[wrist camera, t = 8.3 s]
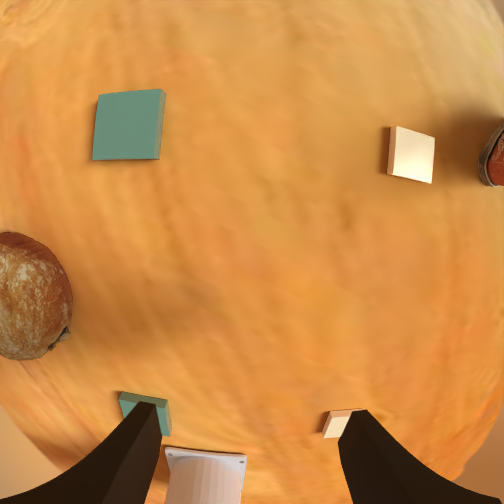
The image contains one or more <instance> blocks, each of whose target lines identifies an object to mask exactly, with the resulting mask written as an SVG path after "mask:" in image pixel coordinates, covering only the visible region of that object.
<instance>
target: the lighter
mask: <svg viewBox="0 0 504 504" xmlns="http://www.w3.org/2000/svg"><path fill="white" fill-rule="evenodd" d="M478 169H479V174H480V177H481V179H482V181H483V183H485V184H486V185H488V186H493V187H498V186H500V185H501V186H504V122H503V123H502V124H501V125H500V126H499V127H498V128H497V129H496V130H495V131H494V133H493V134H492V136H491V137H490V139H489V141H488V142H487V144H486V146H485V148H484V150H483V152H482V154H481V156H480V158H479V162H478Z"/></svg>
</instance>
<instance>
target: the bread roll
mask: <svg viewBox="0 0 504 504" xmlns="http://www.w3.org/2000/svg"><path fill="white" fill-rule="evenodd" d="M72 301H73V298H72V292H71V287H70V283H69V280H68V278H67V275H66V273H65V271H64V270H63V268H62V266H61V265H60V263H59V262H58V260H57V258H56V257H55V255H54V254H53V253H52V252H51V251H50V249H49V248H48V247H46V246H45V245H43V244H41V243H40V242H38V241H35V240H34V239H32V238H30V237H27V236H25V235H22V234H19V233H10V232H4V233H1V234H0V355H2V356H4V357H6V358H8V359H11V360H33V359H37V358H42V356H43V355H44V354H45V353H46V352H48V351H51V350H52V349H53V348H54V347H56V344H57V343H58V342H61V341H64V340H66V339H68V337H69V335H70V332H69V331H68V327H69V325H70V321H71V316H72Z"/></svg>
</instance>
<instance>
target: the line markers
mask: <svg viewBox="0 0 504 504" xmlns="http://www.w3.org/2000/svg"><path fill="white" fill-rule="evenodd" d="M165 97H166V93H165V92H164V91H163V90H162V89H153V90H139V91H127V92H118V93H109V94H102V95H99V98H98V105H97V112H96V121H95V130H94V141H93V155H92V160H120V159H159V158H160V145H161V133H162V123H163V114H164V105H165ZM434 143H435V138H434V137H431V136H428V135H425V134H422V133H418V132H415V131H412V130H409V129H405V128H402V127H399V126H394V127H391V129H390V145H389V158H388V168H387V174H389V175H394V176H398V177H403V178H407V179H412V180H416V181H420V182H424V183H431V181H432V171H433V159H434ZM139 401H142V402H148V403H153V404H156V408H157V413H158V418H159V423H160V428H161V433H162V435H164V436H169V437H170V434H171V430H172V427H171V421H170V414H169V408H168V401H167V400H164V399H158V398H152V397H146V396H141V395H136V394H131V393H127V392H122V393H121V395H120V397H119V402H120V406H121V409H122V412H123V416H124V418H125V417H126V416H127V415H128V414H129V412H130V411H131V410H132V409H133V408H134V406H135V405H136V404H137V403H138V402H139ZM359 410H362V408H361V409H352V410H341V411H330V413H329V415H328V418H327V420H326V423H325V425H324V428H323V430H322V435H323V438H331V437H341V435H342V432H343V430H344V428H345V426H346V424H347V422H348V420H349V418H350V415H351V413H352V411H359Z"/></svg>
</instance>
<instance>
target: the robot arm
mask: <svg viewBox="0 0 504 504" xmlns="http://www.w3.org/2000/svg"><path fill="white" fill-rule="evenodd" d="M161 440H162V433H161V428H160V423H159V418H158V413H157V408H156V404H153V403H148V402H142V401H139V402H138V403H137V404H136V405H135V406H134V408H133V409H132V410H131V411H130V412H129V414H128V415H127V416H126V417H125V418H124V419H123V421H122V422H121V423H120V424H119V425H118V426H117V427H116V428H115V429H114V430H113V431H112V432H111V433H110V434H109V436H108V437H107V438H106V439H105V440H104V441H103V442H102V443H100V444H99V445H98V446H97V447H96V448H95V449H94V450H93V451H92V452H91V453H89V454H88V455H87V456H86V457H85V458H83V459H82V460H81V461H80V462H78V463H77V464H76V465H74V466H73V467H71V468H70V469H69V470H67V471H65V472H64V473H62V474H61V475H59V476H57V477H56V478H54V479H52V480H50V481H48V482H47V483H44V484H42V485H40V486H38V487H36V488H34V489H31V490H29V491H26V492H24V493H20V494H17V495H14V496H11V497H7V498H3V499H0V504H144V503H145V499H146V496H147V493H148V490H149V486H150V483H151V480H152V477H153V474H154V470H155V467H156V464H157V461H158V457H159V452H160V446H161ZM338 447H339V454H340V460H341V465H342V468H343V471H344V475H345V478H346V481H347V484H348V488H349V491H350V494H351V497H352V501H353V504H502V503H501V501H500V499H499V498H495V497H490V496H486V495H482V494H479V493H476V492H473V491H471V490H468V489H465V488H463V487H461V486H459V485H456V484H455V483H453V482H451V481H449V480H447V479H445V478H443V477H442V476H440V475H438V474H437V473H435V472H434V471H432V470H431V469H429V468H428V467H427V466H425V465H424V464H423V463H421V462H420V461H419V460H418V459H416V458H415V457H414V456H413V455H412V454H410V453H409V452H408V451H407V450H406V449H405V448H404V447H403V446H402V445H400V444H399V443H398V442H397V441H396V440H395V439H394V438H393V437H392V436H391V435H390V434H389V433H388V432H387V431H386V430H385V428H384V427H383V426H382V425H381V424H380V423H379V422H378V421H377V420H376V419H375V418H374V417H373V416H372V415H371V414H370V413H369V412H368V411H367V410H359V411H352V413H351V415H350V418H349V420H348V422H347V424H346V426H345V428H344V430H343V432H342V435H341V437H340V439H339V441H338ZM165 455H166V459H167V462H168V466H169V470H170V478H169V483H168V488H167V493H166V499H165V504H241V492H242V488H243V482H244V475H245V469H246V463H247V456H246V455H243V454H226V453H214V452H204V451H195V450H188V449H181V448H174V447H166V448H165Z"/></svg>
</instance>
